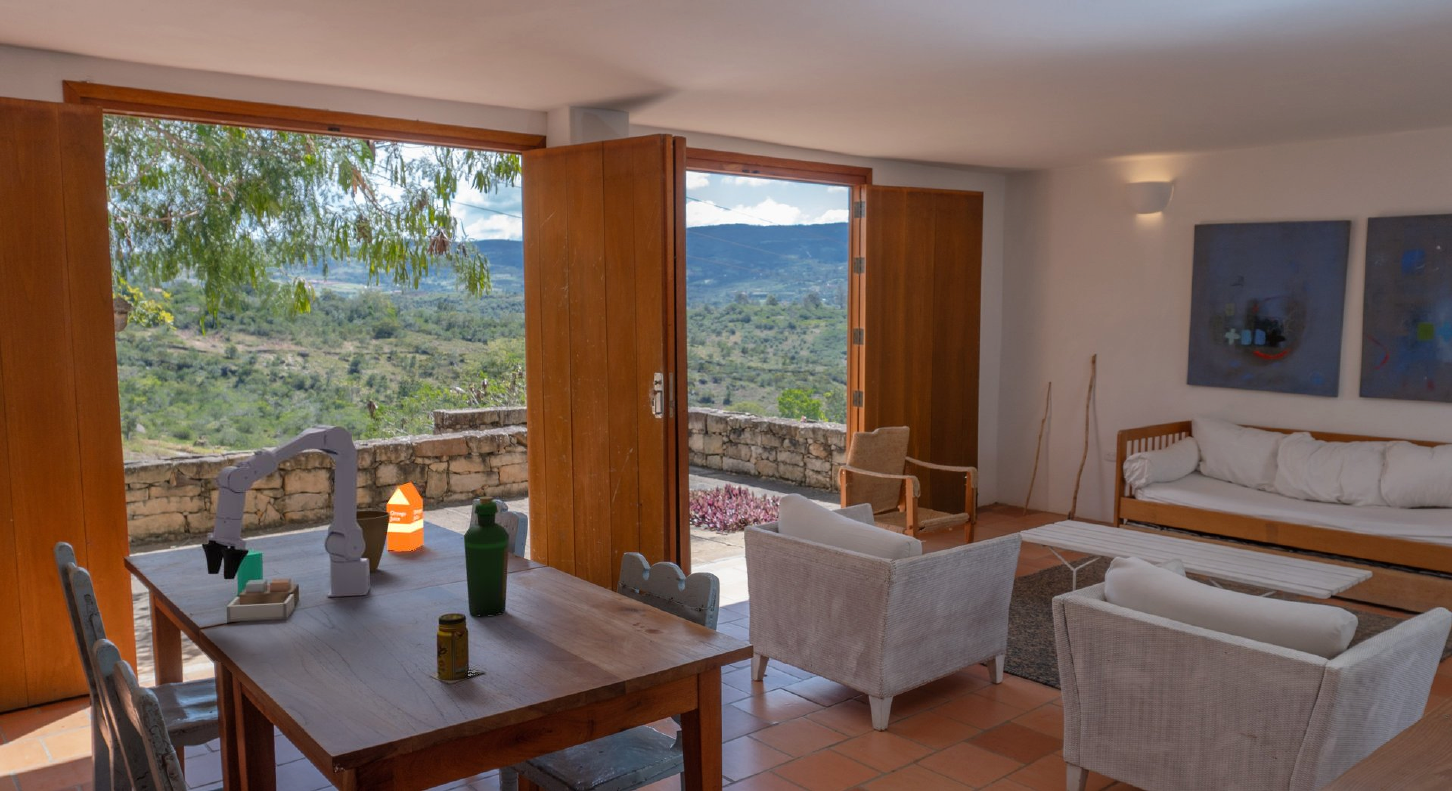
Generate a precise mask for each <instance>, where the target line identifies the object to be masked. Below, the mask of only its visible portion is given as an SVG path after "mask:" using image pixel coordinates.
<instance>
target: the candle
mask: <svg viewBox="0 0 1452 791" xmlns="http://www.w3.org/2000/svg"><path fill="white" fill-rule="evenodd" d="M250 548H251V547H250V546H248V550H249V551H248V554H247V555H246V556H245V558H244V559H243V561H242V562H241V564H240V566H239V568H238V571H237V573H236V575H237V576H236V580H237V595H238V596H239V594H240V593H241V592H242V591H243V590H244V589H245V588H246V583H247V582H248V581H249V580H264V571H263V570H264V569H263V566H264V565H263V564H264V563H263V562H264V561H263V552H262V550H253V549H252V550H251V549H250Z"/></svg>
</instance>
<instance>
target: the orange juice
mask: <svg viewBox="0 0 1452 791" xmlns="http://www.w3.org/2000/svg"><path fill="white" fill-rule="evenodd" d="M423 501H424V499H423V498H422V497H421V495H420V494H419V492H418V490H417V489H416V488H415V486H414V485H413V482H411V481H410V482H407V483H404V484H400V485H398V486H397V488H396V489H395V491H394V493H393V494H392V495H391V497H390V499H389V500H388V502H386V512H389V513H390V517H389V525H388V531H387V536H386V542H387V543H386V544H387V545H386V546H387V550H394V551H393V552H401V551H411V550H413V551H415V550H417V549H416V548H417V547H420V546H421V545H423V546H424V506H423V504H424V503H423ZM420 548H421V547H420ZM414 549H415V550H414ZM411 552H412V551H411Z"/></svg>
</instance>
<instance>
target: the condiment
mask: <svg viewBox="0 0 1452 791" xmlns="http://www.w3.org/2000/svg"><path fill="white" fill-rule="evenodd" d="M466 620H467V617H466V615H465V614H464V613H458V612H457V613H454V612H453V613H447V614H442V615H441V616H439V617H438V626H437V628H438V630H437V631H436V665H437V667H436V668H437V672H436V673H433V674H429V675H428V676H429V677H431V678H433V679H436V680H438V681H441V682H444V683H448V684H454V683H456V682H460V681H464V680H467V679H469V678H471V677H475V676H478V675H477V674H479V675H481V674H484V673H486V671H485V670H483V671H484V672H475V673H472V672H469V673H468V671H473V670H475V669H476V668H475V669H473V670H471V669H470V670H469V668H473V667H472V666H469V665H470V664H469V663H470V661H469V659H470V658H469V657H470V656H469V655H470V654H469V629H468V628H467V621H466ZM476 671H482V670H481V669H477V670H476ZM470 673H471V674H473V676H472V675H471V676H468V674H470ZM474 674H475V675H474Z"/></svg>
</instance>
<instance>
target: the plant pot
mask: <svg viewBox="0 0 1452 791" xmlns="http://www.w3.org/2000/svg"><path fill="white" fill-rule="evenodd" d="M389 517H390V513H389V512H387V510H386V511H384V510H356V522H357V523H358V525H359V526H360V527H361V529H362V536H363V539H364V541H365V551H364V553H363V554H362V556H361V558H368V559H369V572H370V573H373V572H375V571H377V570H378V567H379V565H380V561H381V558H382V555H383V552H384V548H385V545H386V542H387V531H388V525H389Z"/></svg>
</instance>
